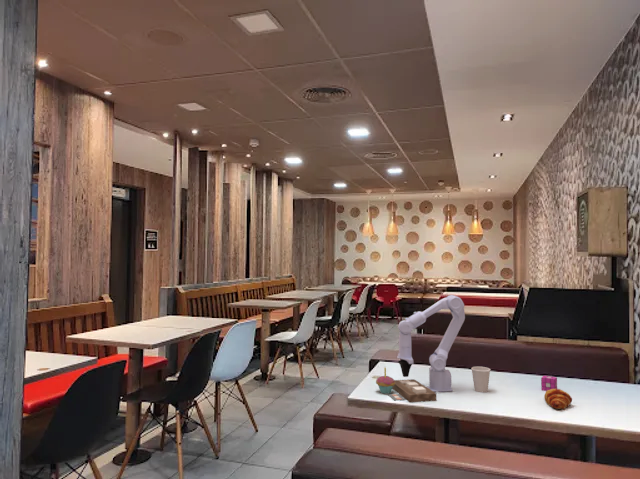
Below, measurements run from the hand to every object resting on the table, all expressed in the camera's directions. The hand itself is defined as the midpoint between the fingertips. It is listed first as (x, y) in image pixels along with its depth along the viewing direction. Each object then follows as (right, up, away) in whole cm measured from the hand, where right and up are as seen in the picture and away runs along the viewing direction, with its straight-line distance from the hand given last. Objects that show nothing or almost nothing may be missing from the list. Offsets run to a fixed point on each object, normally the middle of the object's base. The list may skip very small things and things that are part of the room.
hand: (405, 376), depth 212 cm
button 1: (0, -5, 0) cm, 5 cm away
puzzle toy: (+66, -6, -1) cm, 66 cm away
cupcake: (-10, -5, -6) cm, 13 cm away
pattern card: (-7, -5, -15) cm, 17 cm away
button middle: (+1, -4, -8) cm, 9 cm away
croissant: (+59, -5, -22) cm, 63 cm away
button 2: (+3, -3, -16) cm, 17 cm away
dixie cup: (+34, -6, -3) cm, 35 cm away
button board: (+1, -5, -8) cm, 10 cm away
